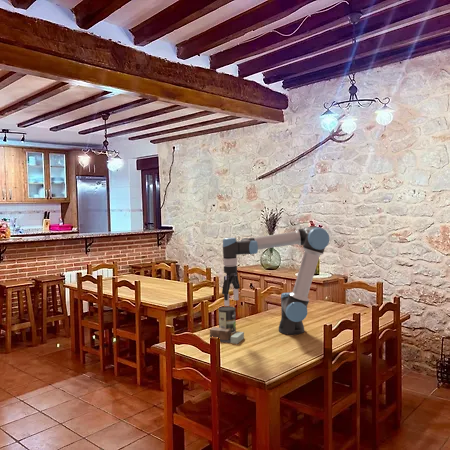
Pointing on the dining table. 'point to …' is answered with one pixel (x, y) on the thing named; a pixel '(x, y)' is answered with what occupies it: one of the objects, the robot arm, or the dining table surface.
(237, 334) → the sage ledge
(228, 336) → the walnut block
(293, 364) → the dining table surface
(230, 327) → the coffee can
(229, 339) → the rubber mat
